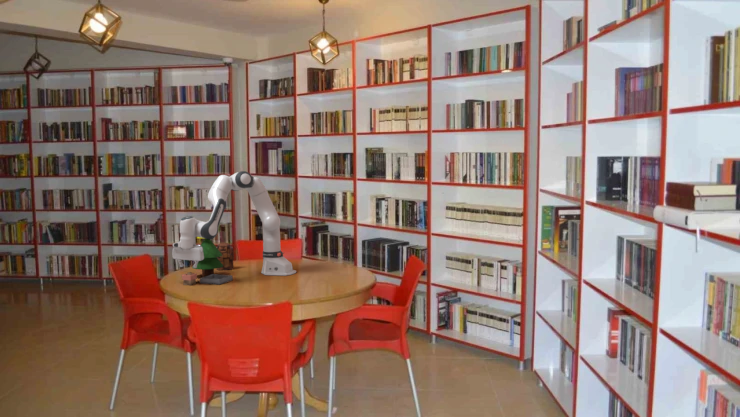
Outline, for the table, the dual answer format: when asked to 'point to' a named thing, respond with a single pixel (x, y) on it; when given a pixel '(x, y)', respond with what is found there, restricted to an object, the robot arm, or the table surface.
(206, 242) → the decorative tree
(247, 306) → the table surface
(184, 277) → the ring
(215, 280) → the tray
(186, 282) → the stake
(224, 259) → the wooden figurine
